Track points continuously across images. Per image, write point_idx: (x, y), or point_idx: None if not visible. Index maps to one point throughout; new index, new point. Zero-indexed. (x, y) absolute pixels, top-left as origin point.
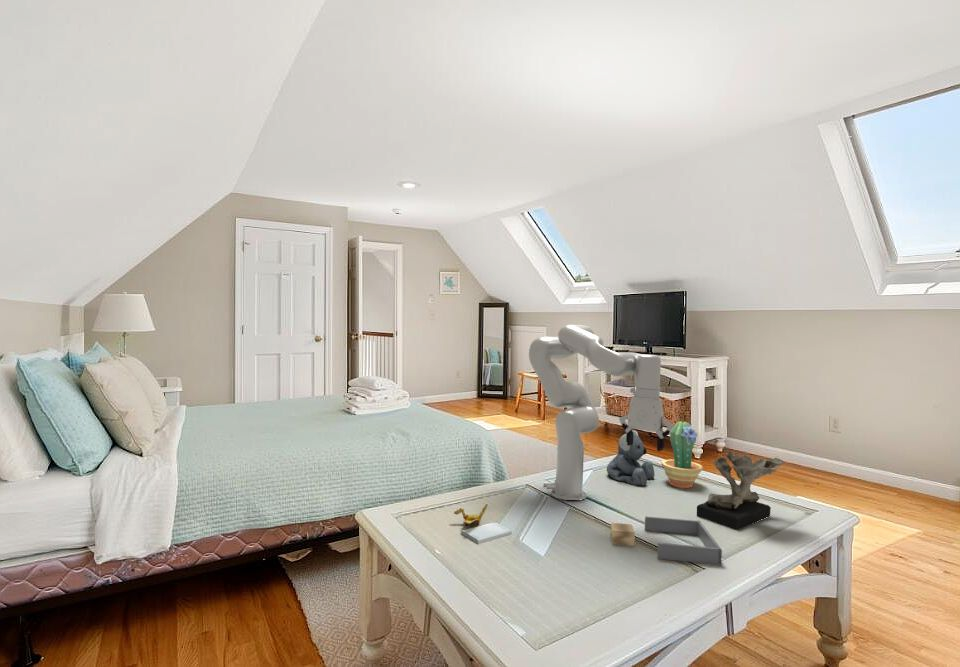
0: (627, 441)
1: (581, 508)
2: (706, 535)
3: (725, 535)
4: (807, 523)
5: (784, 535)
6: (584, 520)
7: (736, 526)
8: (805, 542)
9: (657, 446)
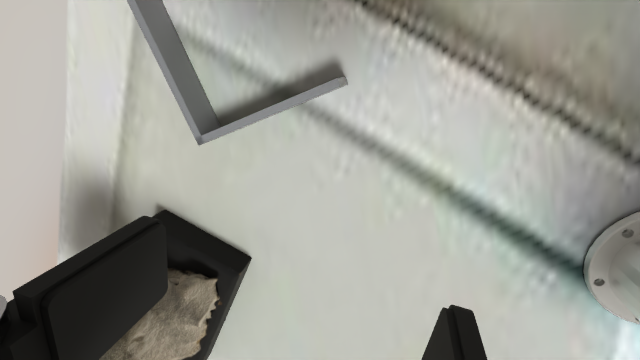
0: (479, 341)
1: (591, 157)
2: (164, 51)
3: (173, 163)
4: None
5: (95, 226)
6: (565, 37)
7: (159, 213)
8: (62, 208)
9: (131, 241)
